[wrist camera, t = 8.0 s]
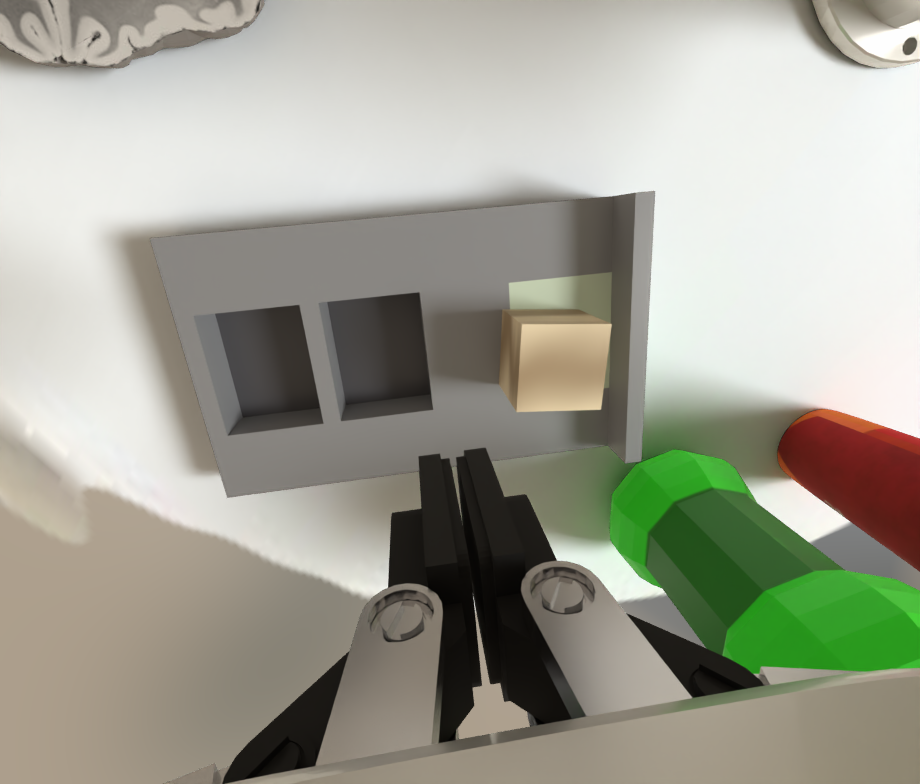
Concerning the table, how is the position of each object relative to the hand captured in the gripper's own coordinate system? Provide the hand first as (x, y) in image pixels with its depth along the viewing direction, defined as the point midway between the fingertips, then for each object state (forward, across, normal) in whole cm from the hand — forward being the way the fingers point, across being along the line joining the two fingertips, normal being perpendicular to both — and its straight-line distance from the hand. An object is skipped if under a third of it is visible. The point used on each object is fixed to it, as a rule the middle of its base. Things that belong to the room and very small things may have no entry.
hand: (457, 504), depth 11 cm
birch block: (+16, -6, +1) cm, 17 cm away
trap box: (+19, +1, 0) cm, 19 cm away
